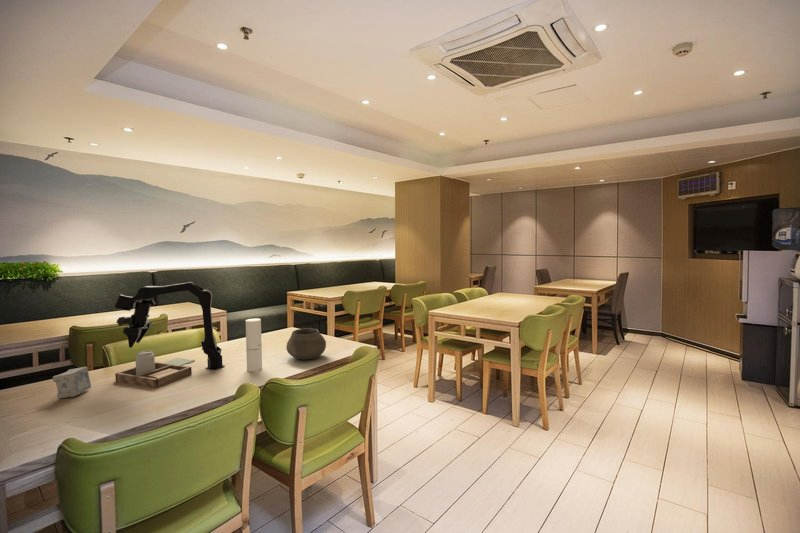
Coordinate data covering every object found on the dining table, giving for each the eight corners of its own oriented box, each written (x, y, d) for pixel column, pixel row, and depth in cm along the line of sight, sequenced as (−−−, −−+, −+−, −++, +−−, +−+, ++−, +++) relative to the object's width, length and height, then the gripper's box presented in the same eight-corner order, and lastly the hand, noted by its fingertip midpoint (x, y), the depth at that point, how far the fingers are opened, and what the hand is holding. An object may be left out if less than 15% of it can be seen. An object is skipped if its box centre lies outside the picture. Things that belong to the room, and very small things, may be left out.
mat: (194, 361, 205) (194, 360, 205) (174, 368, 194) (174, 367, 194) (177, 359, 209) (177, 357, 209) (157, 365, 198) (157, 364, 198)
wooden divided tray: (191, 375, 184) (191, 366, 184) (156, 388, 167) (155, 379, 167) (153, 369, 192) (153, 361, 192) (115, 382, 175) (115, 373, 175)
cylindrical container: (265, 367, 195) (264, 319, 193) (255, 372, 188) (254, 321, 187) (253, 366, 197) (252, 318, 196) (243, 370, 191) (242, 320, 189)
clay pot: (332, 359, 209) (332, 332, 208) (294, 366, 197) (293, 337, 196) (317, 350, 227) (316, 325, 226) (281, 356, 215) (280, 329, 214)
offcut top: (180, 373, 181) (180, 370, 181) (158, 381, 171) (158, 377, 171) (169, 371, 184) (169, 368, 184) (148, 378, 174) (148, 375, 174)
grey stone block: (71, 390, 165) (70, 366, 165) (92, 389, 166) (90, 366, 166) (53, 399, 156) (51, 374, 155) (75, 399, 156) (73, 373, 156)
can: (145, 380, 177) (144, 354, 176) (132, 379, 179) (131, 354, 178) (159, 374, 184) (158, 350, 184) (145, 373, 186) (144, 349, 185)
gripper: (129, 306, 188) (122, 338, 188) (113, 312, 170) (105, 347, 170) (155, 310, 191) (148, 341, 191) (141, 317, 173) (134, 351, 173)
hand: (134, 345), depth 181 cm, fingers open, 9 cm apart
